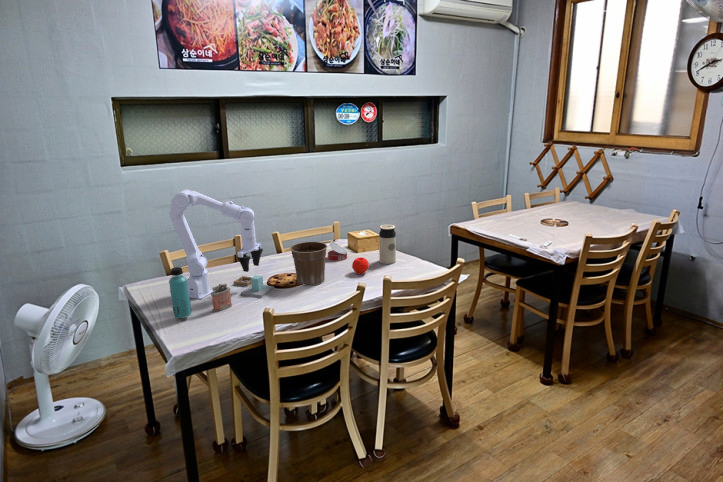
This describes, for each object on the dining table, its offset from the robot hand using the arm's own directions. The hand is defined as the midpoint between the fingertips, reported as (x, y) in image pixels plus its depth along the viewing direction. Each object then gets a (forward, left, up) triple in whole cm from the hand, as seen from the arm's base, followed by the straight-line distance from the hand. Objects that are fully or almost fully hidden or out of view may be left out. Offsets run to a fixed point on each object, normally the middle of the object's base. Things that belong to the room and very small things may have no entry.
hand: (251, 268), depth 203 cm
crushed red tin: (-20, +1, -10) cm, 22 cm away
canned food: (+50, -18, -10) cm, 54 cm away
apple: (+33, -37, -10) cm, 51 cm away
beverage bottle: (-32, +10, -10) cm, 35 cm away
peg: (-1, -3, -9) cm, 9 cm away
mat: (-1, -3, -10) cm, 10 cm away
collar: (+6, +8, -10) cm, 14 cm away
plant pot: (+17, -19, -10) cm, 27 cm away
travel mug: (+52, -44, -10) cm, 69 cm away
